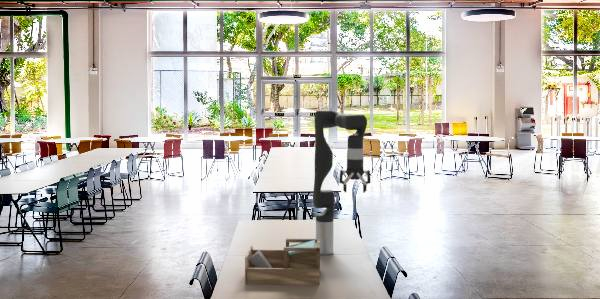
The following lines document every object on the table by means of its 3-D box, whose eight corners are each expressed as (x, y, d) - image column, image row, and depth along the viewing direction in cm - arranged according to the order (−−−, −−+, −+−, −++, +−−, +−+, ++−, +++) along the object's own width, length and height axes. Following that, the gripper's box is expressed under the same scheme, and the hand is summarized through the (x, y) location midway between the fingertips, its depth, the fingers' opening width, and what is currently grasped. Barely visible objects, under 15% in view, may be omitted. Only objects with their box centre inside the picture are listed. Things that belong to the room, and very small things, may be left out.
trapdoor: (290, 247, 282) (290, 245, 282) (315, 242, 281) (315, 239, 281) (288, 255, 270) (288, 252, 270) (315, 249, 269) (314, 247, 269)
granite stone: (259, 249, 279) (273, 268, 280) (250, 256, 280) (265, 274, 280) (258, 253, 274) (272, 272, 275) (249, 259, 275) (263, 278, 275)
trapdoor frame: (250, 269, 288) (250, 236, 286) (320, 270, 286) (320, 237, 285) (245, 283, 268) (244, 248, 266) (319, 284, 267) (319, 249, 265)
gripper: (370, 156, 282) (369, 191, 284) (339, 156, 282) (339, 190, 284) (371, 158, 274) (370, 194, 276) (339, 158, 275) (339, 193, 277)
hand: (354, 192), depth 280 cm, fingers open, 8 cm apart
